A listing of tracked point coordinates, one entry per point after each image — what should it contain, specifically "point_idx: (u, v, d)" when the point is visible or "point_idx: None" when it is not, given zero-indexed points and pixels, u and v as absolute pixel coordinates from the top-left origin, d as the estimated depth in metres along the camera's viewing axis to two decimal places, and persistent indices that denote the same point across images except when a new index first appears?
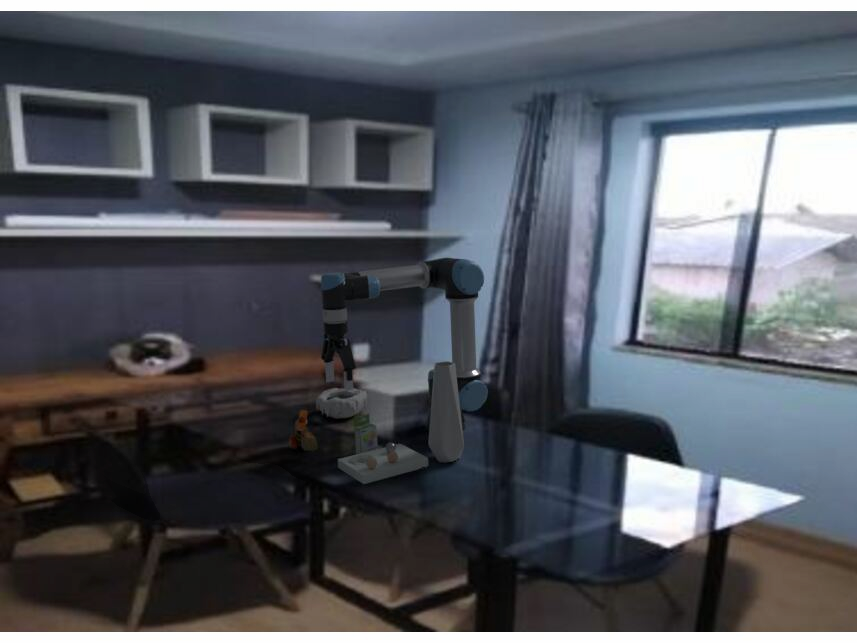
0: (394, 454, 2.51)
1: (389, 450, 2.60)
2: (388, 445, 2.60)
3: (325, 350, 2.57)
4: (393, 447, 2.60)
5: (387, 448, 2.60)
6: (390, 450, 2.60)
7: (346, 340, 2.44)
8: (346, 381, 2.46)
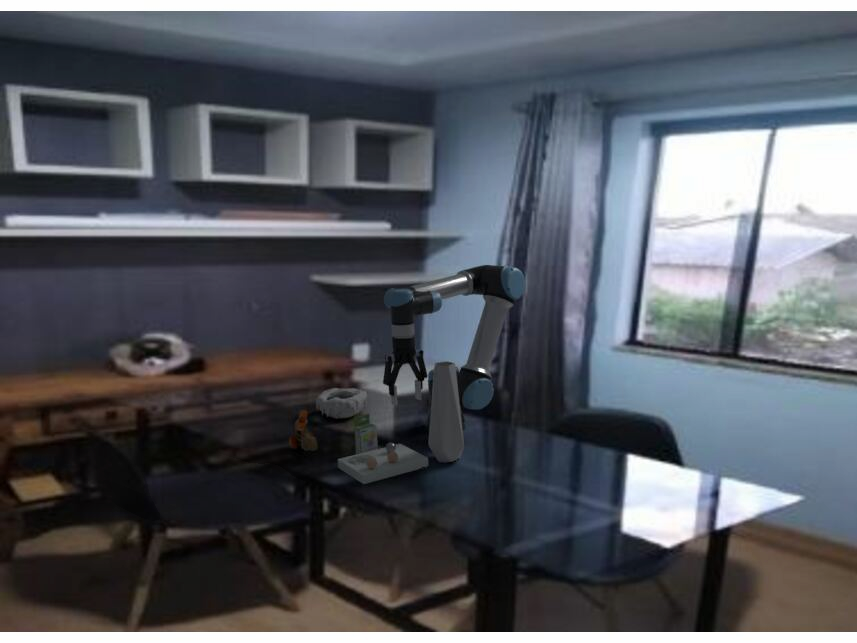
0: (394, 454, 2.51)
1: (389, 450, 2.60)
2: (388, 445, 2.60)
3: (419, 366, 2.64)
4: (393, 447, 2.60)
5: (387, 448, 2.60)
6: (390, 450, 2.60)
7: (386, 357, 2.55)
8: None
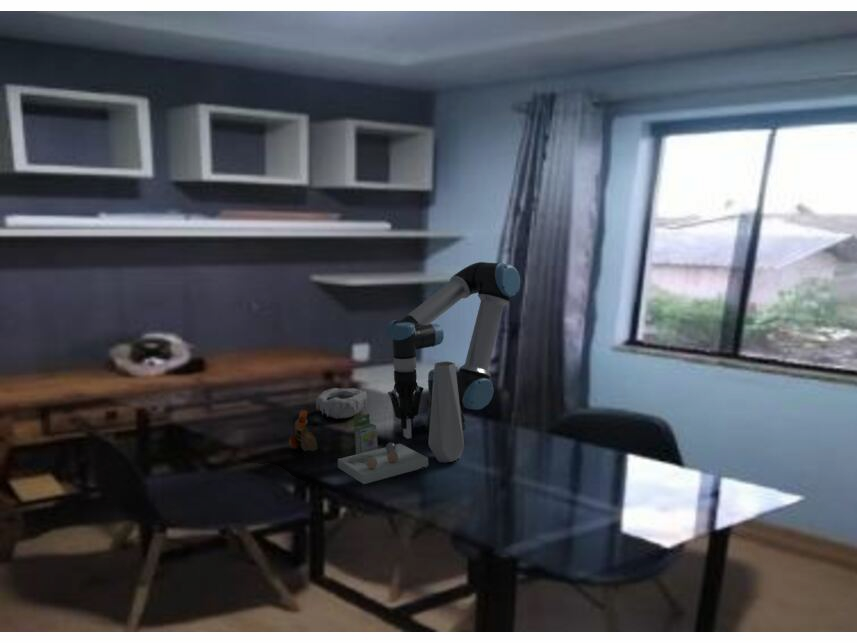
0: (394, 454, 2.51)
1: (389, 450, 2.60)
2: (388, 445, 2.60)
3: (413, 402, 2.65)
4: (393, 447, 2.60)
5: (387, 448, 2.60)
6: (390, 450, 2.60)
7: (390, 394, 2.58)
8: None
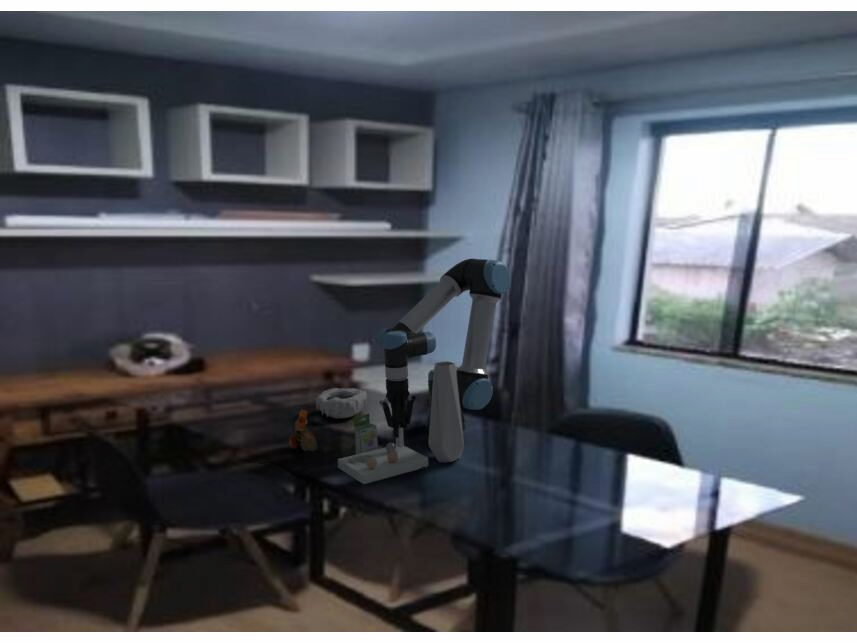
0: (394, 454, 2.51)
1: (389, 450, 2.60)
2: (388, 445, 2.60)
3: (405, 411, 2.63)
4: (393, 447, 2.60)
5: (387, 448, 2.60)
6: (390, 450, 2.60)
7: (382, 403, 2.57)
8: None
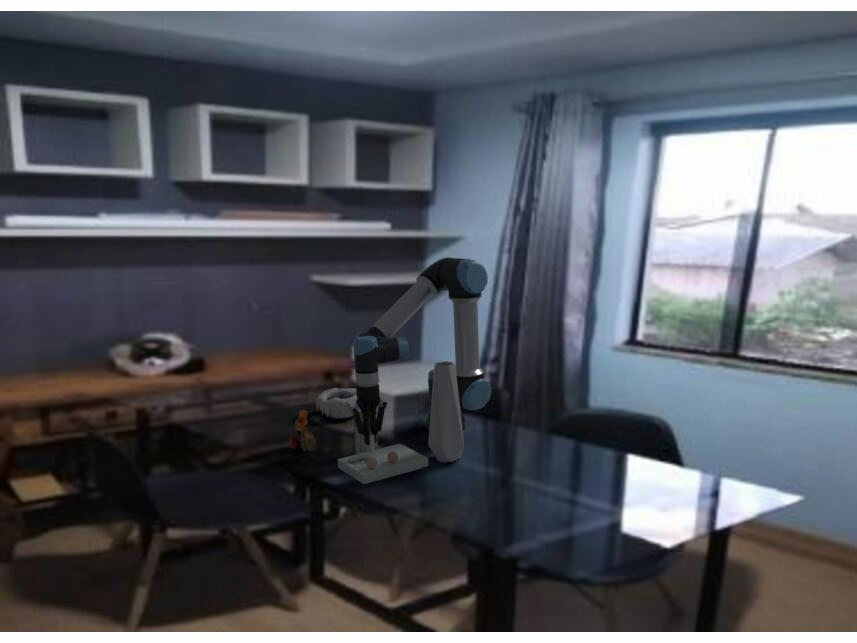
0: (394, 454, 2.51)
1: None
2: None
3: (377, 418, 2.58)
4: None
5: None
6: None
7: (352, 410, 2.51)
8: None
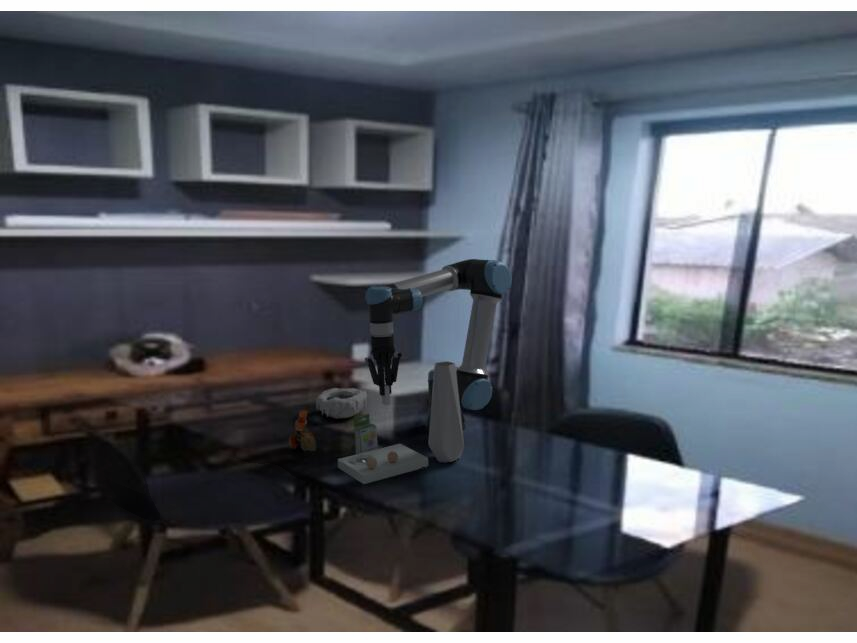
0: (394, 454, 2.51)
1: None
2: None
3: (391, 369, 2.58)
4: None
5: None
6: None
7: (367, 360, 2.52)
8: None
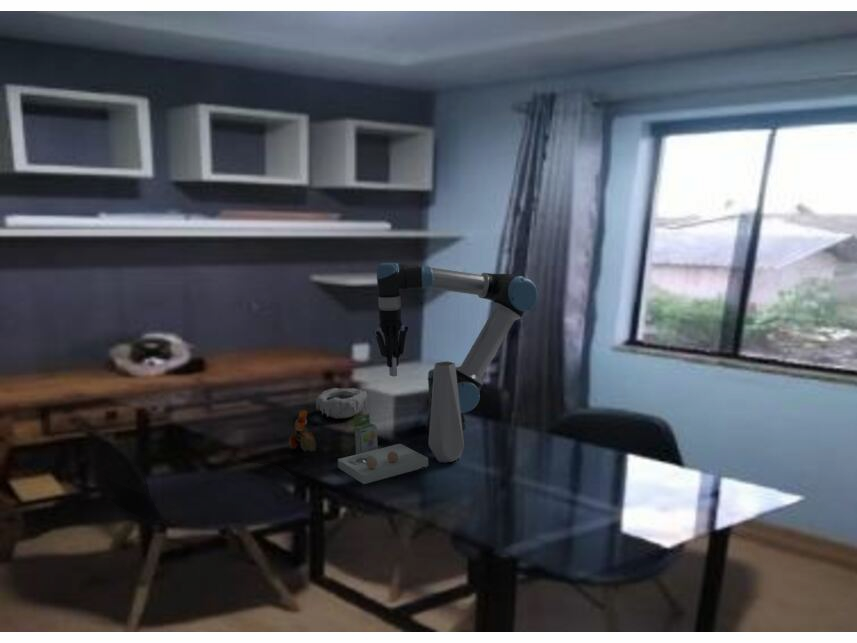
0: (394, 454, 2.51)
1: None
2: None
3: (398, 342, 2.70)
4: None
5: None
6: None
7: (375, 333, 2.63)
8: (389, 367, 2.69)
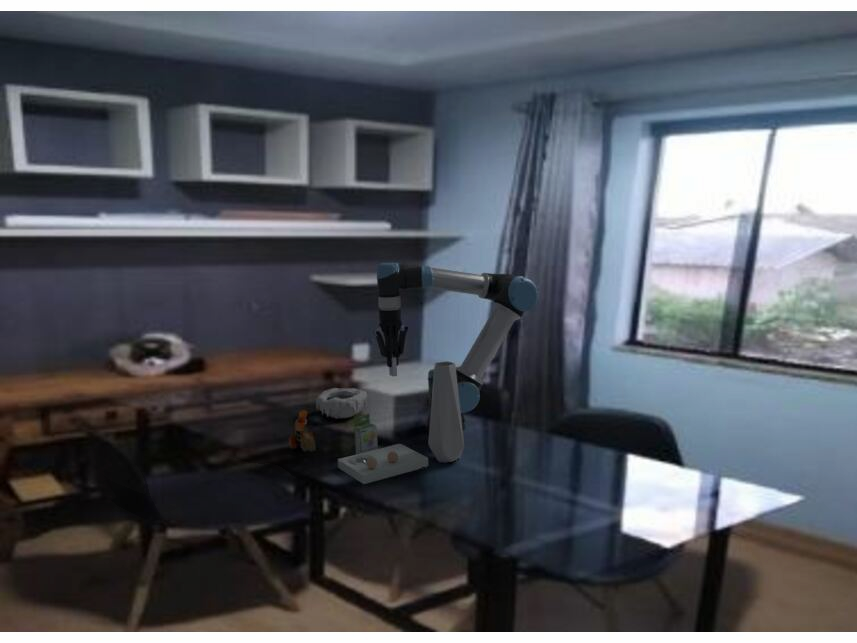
0: (394, 454, 2.51)
1: None
2: None
3: (398, 341, 2.70)
4: None
5: None
6: None
7: (375, 333, 2.63)
8: (389, 366, 2.70)
